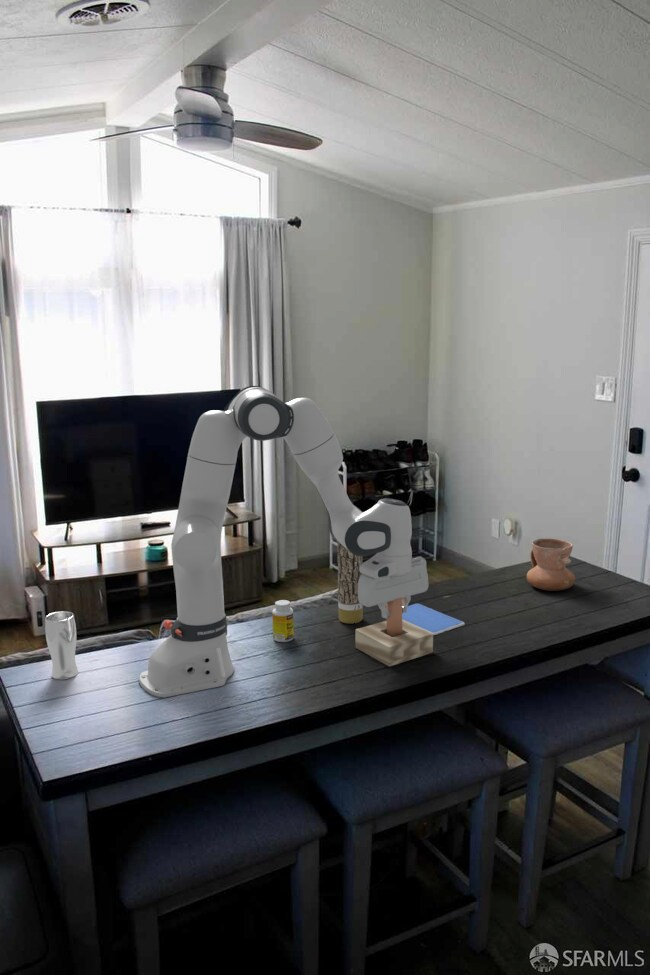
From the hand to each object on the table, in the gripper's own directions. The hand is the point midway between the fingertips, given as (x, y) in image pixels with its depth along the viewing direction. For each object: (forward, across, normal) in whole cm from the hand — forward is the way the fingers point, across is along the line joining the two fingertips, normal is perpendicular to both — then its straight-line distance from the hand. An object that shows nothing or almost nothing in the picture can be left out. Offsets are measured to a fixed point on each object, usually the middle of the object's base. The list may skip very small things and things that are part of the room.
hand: (394, 615), depth 201 cm
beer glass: (+9, +73, -36) cm, 82 cm away
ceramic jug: (+10, -69, -9) cm, 70 cm away
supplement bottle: (+10, +19, -23) cm, 32 cm away
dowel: (+5, 0, 0) cm, 5 cm away
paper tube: (+10, -3, -23) cm, 25 cm away
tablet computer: (+10, -20, -11) cm, 25 cm away
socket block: (+10, 0, 0) cm, 10 cm away
